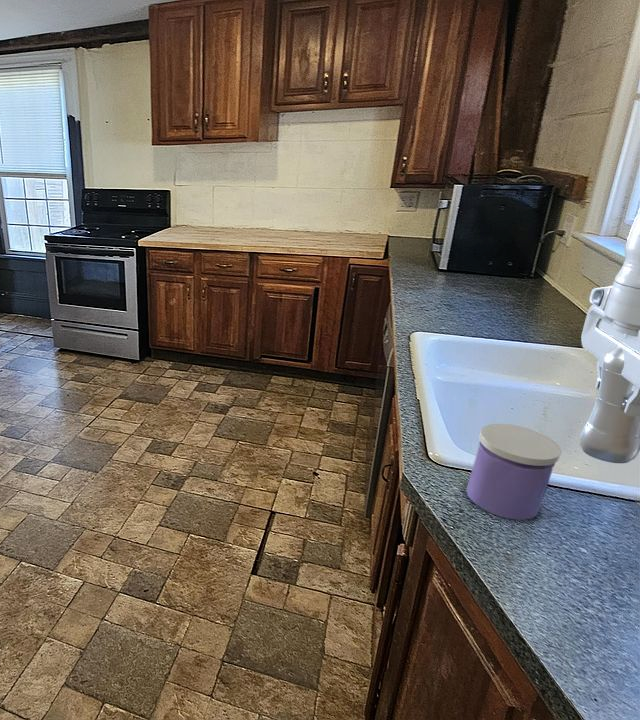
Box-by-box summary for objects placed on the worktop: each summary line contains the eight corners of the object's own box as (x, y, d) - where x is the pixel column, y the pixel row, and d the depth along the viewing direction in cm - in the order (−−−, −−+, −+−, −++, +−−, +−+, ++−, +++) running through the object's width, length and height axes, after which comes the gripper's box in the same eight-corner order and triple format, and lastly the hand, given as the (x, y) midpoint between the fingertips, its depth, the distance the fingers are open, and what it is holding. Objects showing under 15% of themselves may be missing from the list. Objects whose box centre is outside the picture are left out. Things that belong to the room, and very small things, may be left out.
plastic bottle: (575, 442, 81) (609, 316, 74) (632, 454, 77) (674, 322, 71) (576, 460, 76) (613, 326, 69) (638, 474, 72) (683, 334, 66)
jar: (525, 485, 98) (544, 428, 93) (551, 526, 87) (574, 464, 83) (457, 476, 100) (472, 419, 96) (474, 514, 90) (492, 453, 85)
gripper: (737, 334, 59) (691, 442, 64) (635, 289, 77) (606, 376, 82) (670, 330, 60) (630, 435, 65) (585, 287, 79) (559, 372, 84)
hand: (616, 402), depth 74 cm, fingers closed on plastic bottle, 6 cm apart
